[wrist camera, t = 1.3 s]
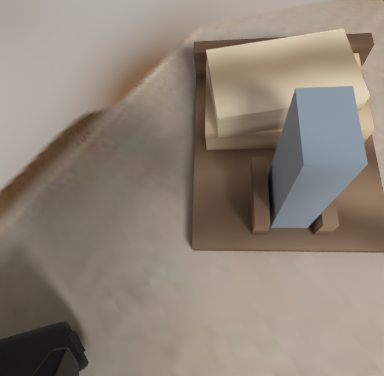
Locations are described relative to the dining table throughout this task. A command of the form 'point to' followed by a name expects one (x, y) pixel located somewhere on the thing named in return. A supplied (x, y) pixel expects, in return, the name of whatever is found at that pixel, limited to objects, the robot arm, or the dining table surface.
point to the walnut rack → (259, 196)
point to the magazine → (38, 349)
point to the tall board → (315, 155)
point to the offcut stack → (275, 86)
